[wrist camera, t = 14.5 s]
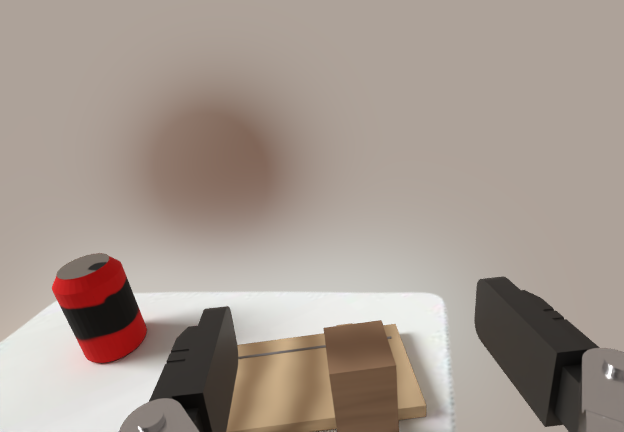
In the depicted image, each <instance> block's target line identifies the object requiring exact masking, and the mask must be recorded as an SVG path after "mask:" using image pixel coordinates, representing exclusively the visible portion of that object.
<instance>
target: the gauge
mask: <svg viewBox="0 0 624 432" xmlns="http://www.w3.org/2000/svg"><path fill="white" fill-rule="evenodd" d="M324 335H325V344H326V353H327V361H328V370H329V377H330V384H331V392H332V399H333V406H334V413H335V420H336V427H337V432H399V421H398V396H397V370H396V363H395V360H394V357H393V354H392V351H391V348H390V345H389V342H388V339H387V336H386V333H385V330H384V327H383V324H382V321H381V320H380V321H372V322H365V323H357V324H352V323H351V324H344V325H336V326H335V327H327V328H324Z"/></svg>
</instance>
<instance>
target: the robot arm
mask: <svg viewBox="0 0 624 432" xmlns="http://www.w3.org/2000/svg"><path fill="white" fill-rule="evenodd" d="M475 328H476V332H477V334H478V337H479V339H480V340H481V342H482V343H483V344H484V346H485V347H486V348H487V350H488V351H489V352H490V354H491V355H492V356H493V358H494V359H495V360H496V362H497V363H498V364H499V366H500V367H501V369H502V370H503V371H504V373H505V374H506V375H507V376H508V378H509V379H510V381H511V382H512V383H513V384H514V386H515V387H516V389H517V390H518V391H519V393H520V394H521V395H522V397H523V398H524V399H525V401H526V402H527V403H528V405H529V406H530V407H531V409H532V410H533V411H534V413H535V414H536V415H537V417H538V418H539V419H540V421H541V422H542V423H543V425H544V426H545V427H547V426H557V425H564V426H565V427H566V428H567V430H568V432H624V352H622V351H618V350H614V349H608V348H599V347H598V346H597V345H596V344H595V343H593V342H592V341H591V340H590V339H589V338H588V337H586V336H585V335H584V334H583V333H582V332H580V331H579V330H578V329H577V328H576V327H574V326H573V325H572V324H571V323H570V322H569V321H568V320H564V317H563V316H562V315H560V314H559V313H558V312H557V311H554V309H553V308H552V307H551V306H550V305H548V304H547V303H546V302H545V301H544V300H543V299H541V298H540V297H538V296H536V295H534V294H531V293H529V292H527V291H525V290H520V289H519V288H518V287H516V286H515V285H514V284H513V283H512V282H511V281H510V280H509V279H507V278H506V277H495V278H487V279H480V280H479V281H478V283H477V291H476V306H475ZM237 369H238V347H237V341H236V336H235V331H234V326H233V320H232V315H231V311H230V308H229V307H228V306H227V307H218V308H209V309H204V311H203V314H202V316H201V319H200V322H199V324H198V326H192V327H188V328H187V329H186V330H185V331H184V332H183V333H182V334H181V335H180V336H179V337H178V338H177V339H176V341H175V344H174V346H173V348H172V350H171V353H170V355H169V357H168V360H167V364H165V366H164V369H163V371H162V373H161V375H160V378H159V380H158V382H157V385H156V387H155V389H154V391H153V394H152V396H151V398H150V400H149V402H148V403H146V404H144V405H142V406H140V407H139V408H137V409H136V410H135V411H133V412H132V413H131V414H130V415H129V416H128V417H127V418H126V420H125V421H124V422H123V424H122V426H121V428H120V431H119V432H226V431H227V425H228V419H229V414H230V408H231V403H232V397H233V392H234V386H235V380H236V375H237Z"/></svg>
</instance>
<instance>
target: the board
mask: <svg viewBox="0 0 624 432" xmlns="http://www.w3.org/2000/svg"><path fill="white" fill-rule="evenodd" d="M383 327H384V330H385V333H386V336H387V339H388V342H389V345H390V348H391V351H392V354H393V357H394V360H395V363H396V370H397V396H398V420H403V419H411V418H418V417H426V403H425V401H424V398H423V396H422V393H421V390H420V388H419V385H418V382H417V380H416V377H415V374H414V372H413V369H412V367H411V364H410V361H409V359H408V356H407V353H406V351H405V348H404V346H403V343H402V340H401V338H400V335H399V332H398V330H397V327H396V324H391V325H383ZM237 347H238V369H237V375H236V380H235V386H234V392H233V397H232V403H231V408H230V414H229V419H228V425H227V431H226V432H313V431H321V430H328V429H336V428H337V427H336V420H335V413H334V406H333V399H332V392H331V384H330V377H329V370H328V361H327V353H326V344H325V335H324V334H316V335H309V336H301V337H294V338H286V339H279V340H272V341H264V342H257V343H249V344H242V345H237Z"/></svg>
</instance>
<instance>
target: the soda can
mask: <svg viewBox="0 0 624 432" xmlns="http://www.w3.org/2000/svg"><path fill="white" fill-rule="evenodd" d="M52 290H53V293H54V295H55V297H56V299H57V301H58V303H59V305H60V307H61V309H62V311H63V313H64V315H65V317H66V319H67V321H68V323H69V325H70V327H71V329H72V331H73V333H74V335H75V337H76V339H77V341H78V343H79V345H80V347H81V349H82V351H83V353H84V355H85V357H86V358H87V359H88V360H90V361H92V362H97V363H106V362H111V361H115V360H117V359H120V358H122V357H124V356H126V355H128V354H129V353H131V352H132V351H133V350H135V349H136V348H137V347H138V346H139V345H140V344H141V342H142V341H143V339H144V337H145V335H146V331H147V329H146V325H145V323H144V320H143V318H142V315H141V312H140V310H139V307H138V305H137V302H136V300H135V297H134V295H133V292H132V290H131V287H130V285H129V282H128V279H127V277H126V274H125V272H124V269H123V267H122V264H121V262H120V261H118V260H116V259H114V258H112V257H110V256H108V255H107V254H102V253H98V254H91V255H87V256H84V257H80V258H78V259H75V260H73V261H71V262H69V263H68V264H66V265H64V266H63V267H62V268H61V269H60V270H59V271H58V272H57V276H56V279H55V281H54V284H53V286H52Z"/></svg>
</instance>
